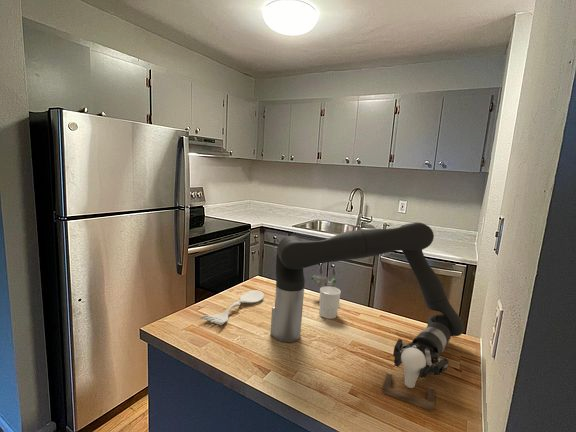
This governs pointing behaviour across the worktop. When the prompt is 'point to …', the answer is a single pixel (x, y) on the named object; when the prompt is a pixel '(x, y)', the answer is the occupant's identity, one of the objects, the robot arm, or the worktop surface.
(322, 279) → the mechanical component
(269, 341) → the worktop surface
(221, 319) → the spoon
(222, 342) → the worktop surface
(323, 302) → the white cup
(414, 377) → the lightbulb
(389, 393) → the walnut holder
